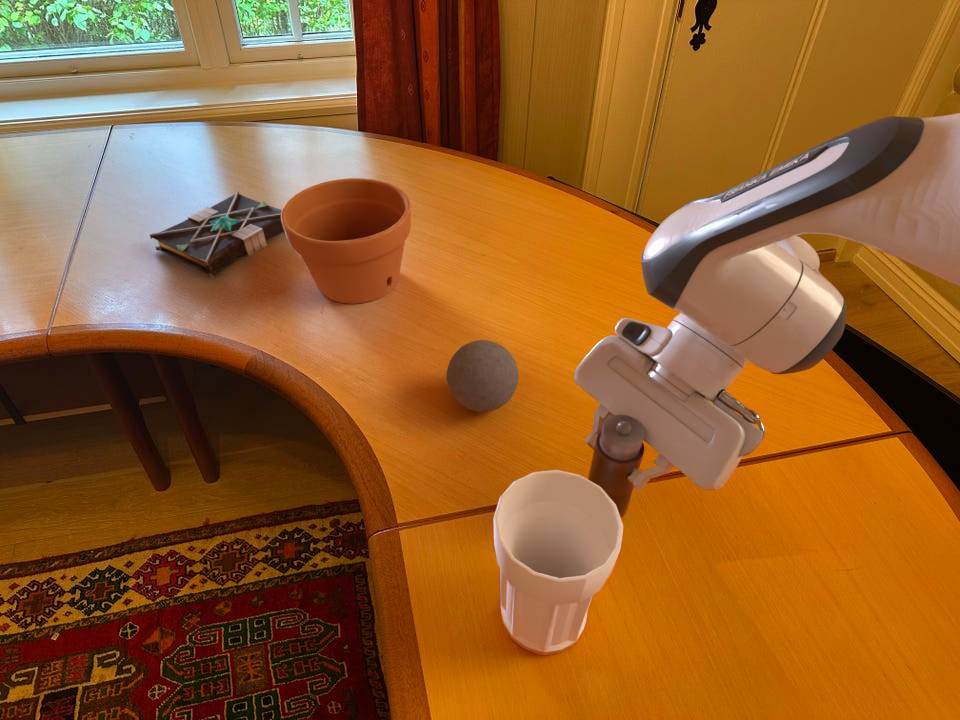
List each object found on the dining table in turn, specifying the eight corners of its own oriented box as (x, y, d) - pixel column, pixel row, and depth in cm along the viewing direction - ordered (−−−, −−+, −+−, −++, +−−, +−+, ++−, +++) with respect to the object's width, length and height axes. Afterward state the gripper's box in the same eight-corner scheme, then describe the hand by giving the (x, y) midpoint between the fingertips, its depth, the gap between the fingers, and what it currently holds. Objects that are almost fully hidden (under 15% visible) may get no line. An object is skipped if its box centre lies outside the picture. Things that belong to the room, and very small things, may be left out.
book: (212, 279, 109) (203, 255, 106) (153, 251, 116) (144, 228, 113) (299, 227, 123) (294, 205, 120) (242, 205, 130) (236, 183, 126)
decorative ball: (509, 373, 92) (511, 321, 85) (523, 422, 84) (527, 370, 78) (443, 380, 90) (440, 329, 84) (452, 431, 83) (450, 379, 76)
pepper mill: (636, 505, 73) (661, 426, 63) (606, 529, 70) (627, 451, 60) (604, 478, 76) (623, 398, 66) (574, 500, 73) (589, 420, 63)
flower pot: (363, 333, 99) (350, 255, 89) (273, 291, 107) (252, 216, 97) (439, 271, 112) (435, 197, 102) (353, 238, 120) (342, 167, 110)
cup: (569, 550, 70) (588, 456, 58) (615, 645, 62) (648, 558, 50) (476, 579, 67) (476, 486, 55) (512, 682, 59) (521, 600, 48)
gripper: (780, 430, 61) (693, 532, 64) (632, 326, 73) (564, 415, 76) (768, 420, 56) (674, 531, 59) (611, 310, 69) (539, 406, 71)
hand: (611, 465), depth 67 cm, fingers closed on pepper mill, 5 cm apart
